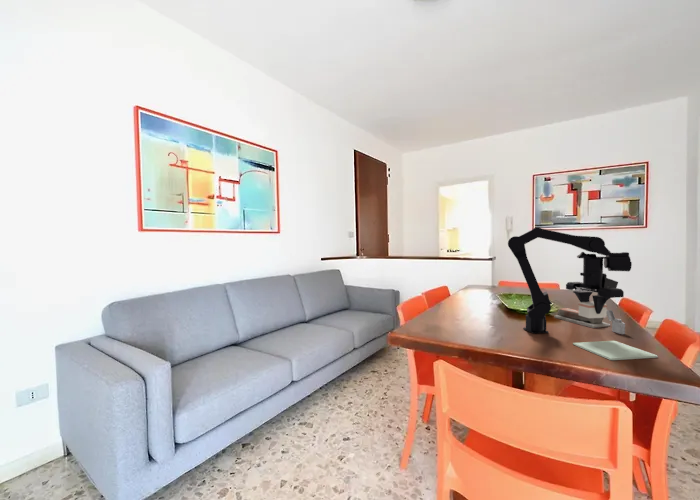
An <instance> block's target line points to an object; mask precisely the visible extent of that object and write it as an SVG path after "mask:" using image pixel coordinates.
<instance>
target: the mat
mask: <svg viewBox="0 0 700 500" xmlns="http://www.w3.org/2000/svg"><path fill="white" fill-rule="evenodd" d="M572 345H573V346H576V347H578V348H580V349H583V350H585V351H587V352H590V353H592V354H594V355H597V356H599V357H601V358H605V359H608V360H609V361H623V360H635V359H636V360H639V359H640V360H641V359H654V358H659V357H658V355H657V354H654V353H651V352H649V351H646V350H643V349H640V348H637V347H635V346H631V345H628V344H627V343H626V344H625V343H622V342H620V341H617V340H603V341H602V340H601V341H600V340H599V341H586V342H585V341H584V342H583V341H582V342H580V341H579V342H572Z"/></svg>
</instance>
